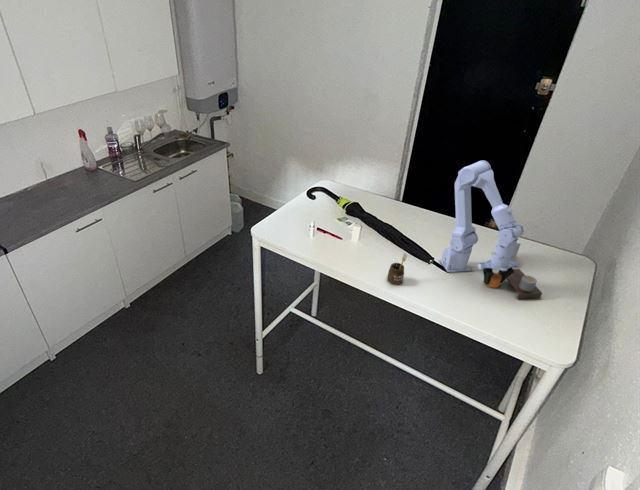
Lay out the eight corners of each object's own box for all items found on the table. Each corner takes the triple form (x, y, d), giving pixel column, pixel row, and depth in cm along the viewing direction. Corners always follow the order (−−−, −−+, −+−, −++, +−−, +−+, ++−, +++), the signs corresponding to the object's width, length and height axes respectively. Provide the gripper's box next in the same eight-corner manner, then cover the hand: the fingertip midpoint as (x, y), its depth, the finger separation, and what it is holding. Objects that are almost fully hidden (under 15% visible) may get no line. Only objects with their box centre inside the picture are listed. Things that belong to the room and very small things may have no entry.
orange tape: (489, 288, 155) (492, 280, 153) (483, 280, 159) (485, 272, 157) (501, 287, 155) (504, 279, 153) (495, 279, 159) (497, 272, 157)
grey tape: (523, 292, 149) (526, 283, 147) (516, 283, 153) (519, 275, 150) (536, 291, 149) (539, 283, 147) (528, 283, 153) (532, 275, 150)
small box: (513, 265, 167) (521, 243, 161) (498, 263, 168) (506, 242, 162) (507, 254, 173) (515, 233, 167) (493, 253, 174) (500, 232, 168)
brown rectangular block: (518, 299, 149) (520, 294, 148) (497, 275, 162) (499, 269, 160) (539, 298, 149) (542, 292, 148) (516, 273, 162) (519, 268, 160)
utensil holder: (384, 278, 163) (388, 254, 156) (396, 274, 165) (401, 249, 158) (393, 286, 159) (398, 261, 152) (406, 282, 161) (411, 257, 154)
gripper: (489, 261, 146) (479, 290, 153) (528, 258, 146) (516, 287, 153) (479, 250, 151) (470, 278, 159) (517, 248, 151) (506, 276, 159)
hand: (492, 282), depth 157 cm, fingers closed on orange tape, 5 cm apart
